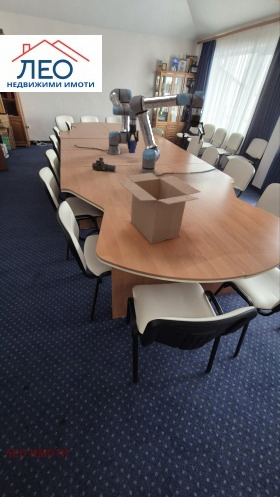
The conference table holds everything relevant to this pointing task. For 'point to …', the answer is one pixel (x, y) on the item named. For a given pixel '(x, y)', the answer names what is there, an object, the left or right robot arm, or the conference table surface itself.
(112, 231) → the conference table surface
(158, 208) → the box
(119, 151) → the left robot arm
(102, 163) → the laser sight
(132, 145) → the canister
